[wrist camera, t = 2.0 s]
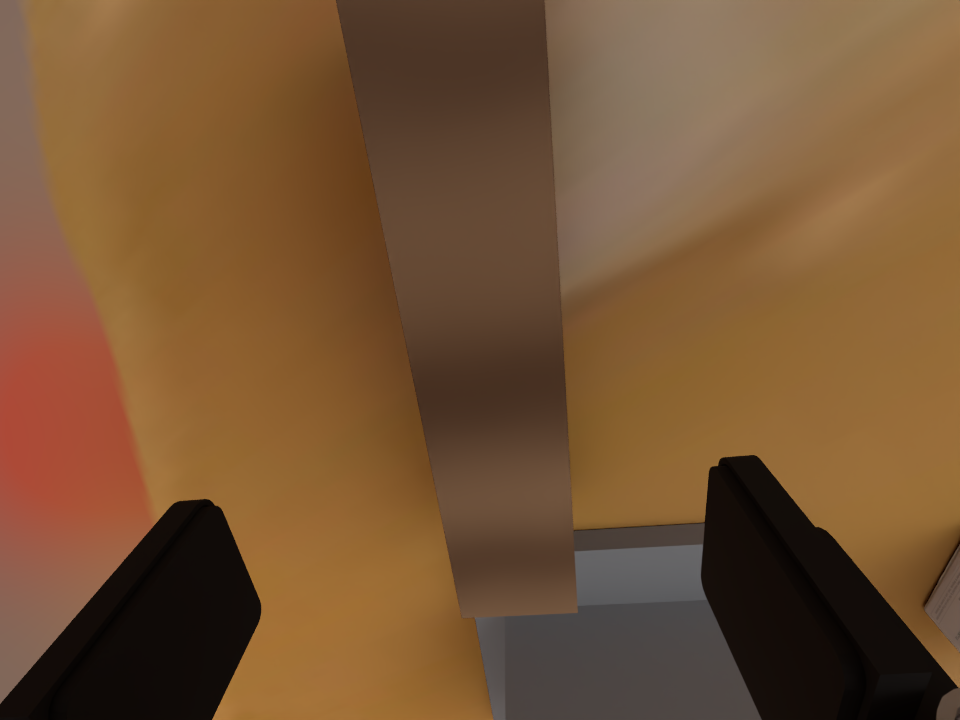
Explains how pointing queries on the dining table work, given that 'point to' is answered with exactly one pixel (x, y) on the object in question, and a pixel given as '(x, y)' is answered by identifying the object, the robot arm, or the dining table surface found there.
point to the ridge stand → (620, 639)
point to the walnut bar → (476, 278)
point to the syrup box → (947, 601)
